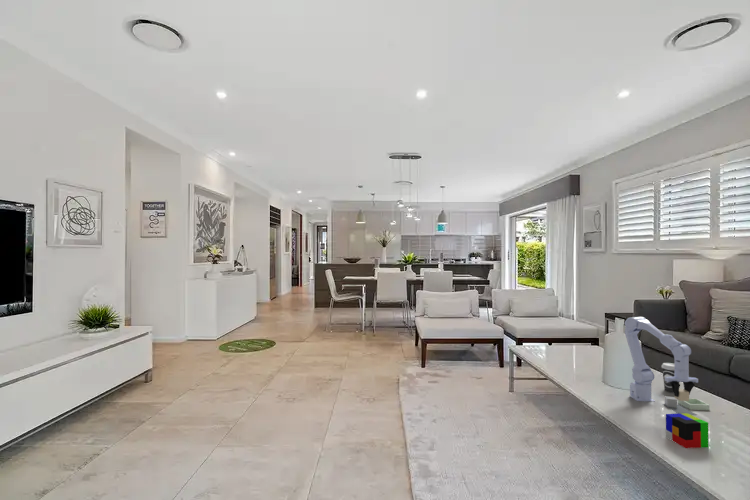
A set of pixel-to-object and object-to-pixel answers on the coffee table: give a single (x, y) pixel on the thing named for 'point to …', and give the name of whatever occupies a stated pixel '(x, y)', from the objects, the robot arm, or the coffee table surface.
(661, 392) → the coffee table surface
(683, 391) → the tan wooden cube
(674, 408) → the slate mat
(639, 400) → the robot arm
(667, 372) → the coffee cup
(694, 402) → the green bin
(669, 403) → the matte grey cube
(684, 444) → the puzzle toy
